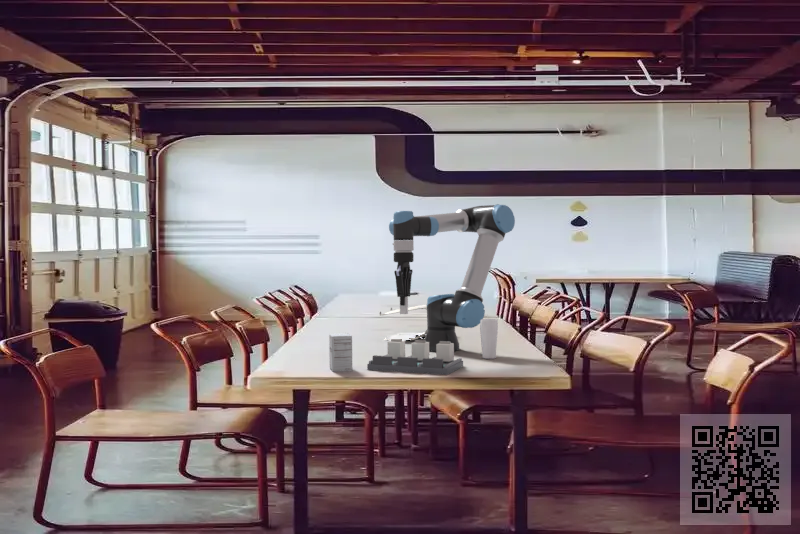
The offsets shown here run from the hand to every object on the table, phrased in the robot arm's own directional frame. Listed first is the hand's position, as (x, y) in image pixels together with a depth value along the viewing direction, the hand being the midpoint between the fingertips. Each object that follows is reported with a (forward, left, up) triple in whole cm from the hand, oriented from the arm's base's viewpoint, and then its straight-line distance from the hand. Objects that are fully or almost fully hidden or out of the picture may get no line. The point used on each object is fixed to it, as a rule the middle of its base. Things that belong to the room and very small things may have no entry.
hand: (403, 313), depth 285 cm
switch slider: (+8, +19, -16) cm, 26 cm away
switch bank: (+13, +10, -18) cm, 24 cm away
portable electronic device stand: (-64, -23, -18) cm, 70 cm away
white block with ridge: (+8, +10, -16) cm, 20 cm away
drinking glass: (-17, +29, -18) cm, 38 cm away
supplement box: (+25, -14, -18) cm, 34 cm away
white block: (+8, 0, -16) cm, 17 cm away
